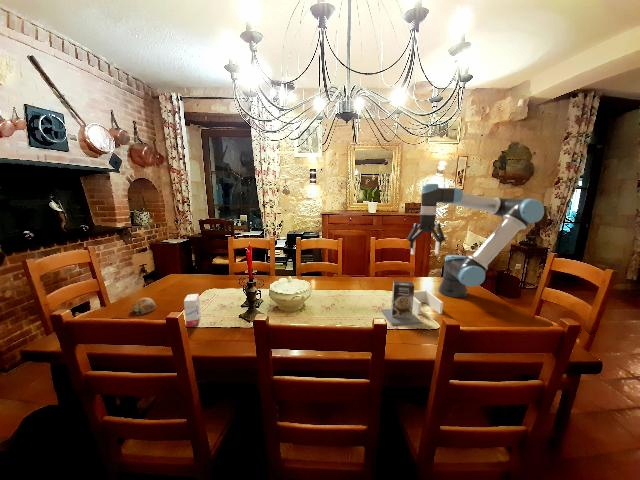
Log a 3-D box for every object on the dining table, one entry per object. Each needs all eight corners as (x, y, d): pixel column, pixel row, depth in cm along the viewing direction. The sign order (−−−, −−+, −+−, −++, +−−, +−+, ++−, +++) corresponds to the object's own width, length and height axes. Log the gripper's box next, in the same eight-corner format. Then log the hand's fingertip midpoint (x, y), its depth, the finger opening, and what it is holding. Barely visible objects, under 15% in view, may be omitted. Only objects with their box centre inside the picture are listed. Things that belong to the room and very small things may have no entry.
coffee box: (391, 317, 124) (393, 284, 121) (390, 311, 130) (392, 280, 127) (412, 319, 122) (414, 286, 119) (410, 313, 128) (412, 281, 125)
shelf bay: (426, 300, 146) (426, 290, 145) (441, 313, 130) (443, 302, 129) (404, 301, 145) (405, 291, 144) (417, 314, 129) (418, 303, 128)
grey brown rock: (157, 317, 131) (162, 301, 133) (135, 316, 123) (141, 299, 124) (147, 312, 136) (152, 296, 138) (125, 310, 128) (131, 294, 129)
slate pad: (408, 310, 134) (408, 308, 134) (421, 323, 120) (421, 321, 120) (381, 311, 132) (381, 309, 132) (391, 325, 119) (391, 323, 118)
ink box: (198, 325, 116) (196, 300, 114) (185, 327, 115) (183, 301, 113) (201, 316, 124) (199, 293, 122) (189, 318, 123) (187, 294, 121)
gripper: (446, 213, 142) (442, 252, 146) (401, 213, 139) (399, 252, 143) (454, 214, 135) (450, 255, 138) (408, 214, 132) (405, 256, 136)
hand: (424, 254), depth 141 cm, fingers open, 13 cm apart
